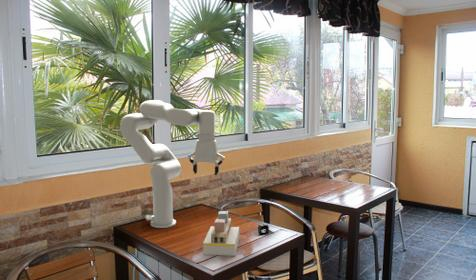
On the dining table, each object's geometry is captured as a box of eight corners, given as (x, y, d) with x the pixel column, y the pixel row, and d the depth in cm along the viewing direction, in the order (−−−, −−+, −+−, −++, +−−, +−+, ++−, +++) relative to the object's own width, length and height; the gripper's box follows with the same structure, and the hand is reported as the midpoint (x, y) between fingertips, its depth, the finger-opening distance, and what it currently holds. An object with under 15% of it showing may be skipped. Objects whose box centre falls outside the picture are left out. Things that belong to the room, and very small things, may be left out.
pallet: (211, 243, 163) (211, 233, 162) (217, 226, 182) (217, 217, 182) (225, 243, 162) (225, 233, 162) (231, 226, 182) (230, 218, 181)
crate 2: (214, 231, 164) (214, 222, 164) (215, 228, 168) (215, 219, 168) (224, 231, 164) (224, 222, 163) (225, 228, 168) (225, 219, 167)
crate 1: (218, 222, 175) (218, 213, 175) (219, 219, 179) (219, 210, 179) (227, 222, 175) (227, 213, 175) (228, 219, 179) (228, 211, 179)
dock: (203, 254, 163) (203, 243, 162) (211, 236, 183) (210, 226, 183) (234, 255, 162) (234, 244, 161) (239, 237, 182) (239, 227, 181)
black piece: (254, 238, 182) (255, 228, 182) (248, 233, 189) (248, 224, 188) (278, 234, 187) (278, 224, 187) (271, 229, 194) (271, 220, 193)
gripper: (186, 137, 180) (185, 174, 183) (223, 139, 178) (222, 176, 181) (190, 135, 188) (189, 170, 190) (226, 137, 186) (225, 173, 188)
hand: (205, 173), depth 185 cm, fingers open, 9 cm apart
